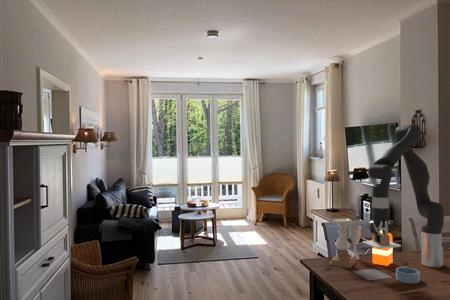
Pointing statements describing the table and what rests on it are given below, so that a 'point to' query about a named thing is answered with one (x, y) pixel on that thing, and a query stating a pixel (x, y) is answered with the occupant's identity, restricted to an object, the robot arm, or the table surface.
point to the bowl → (407, 275)
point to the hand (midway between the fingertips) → (381, 242)
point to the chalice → (355, 238)
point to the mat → (372, 274)
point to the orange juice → (383, 254)
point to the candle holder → (342, 245)
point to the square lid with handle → (381, 242)
